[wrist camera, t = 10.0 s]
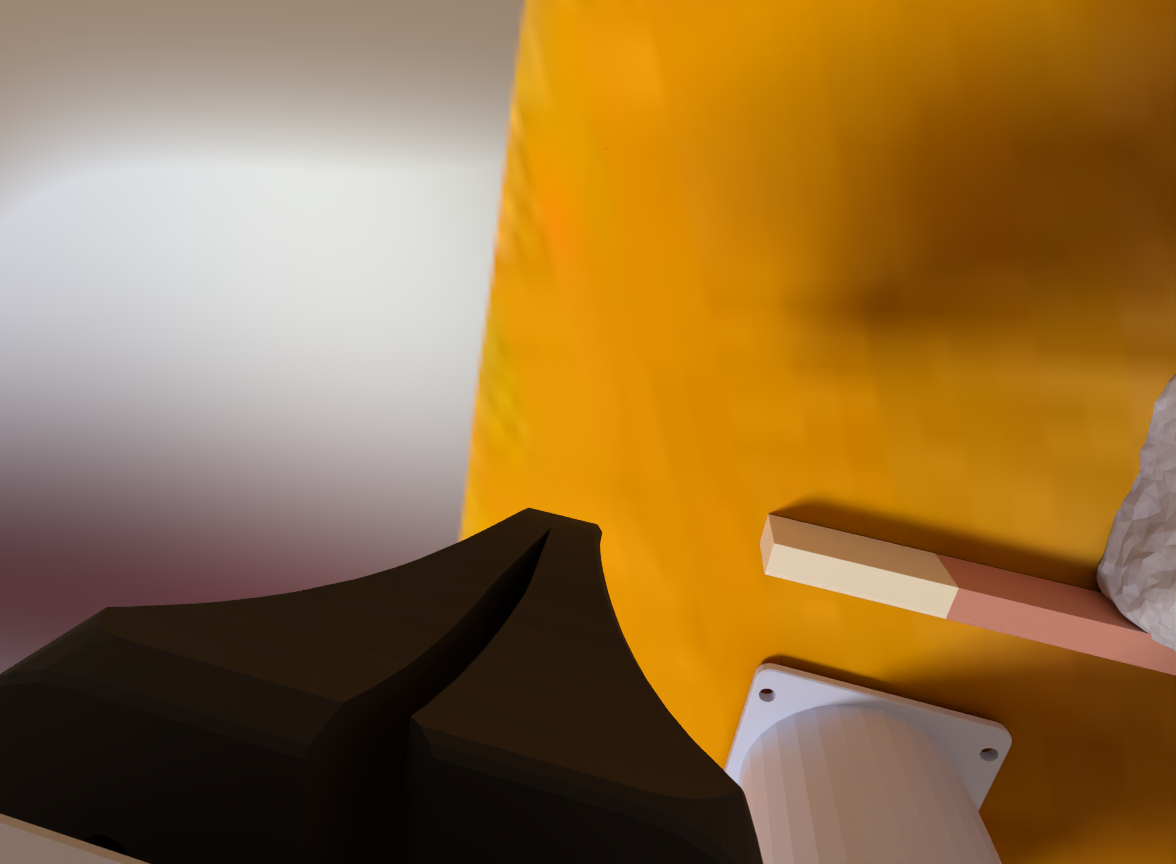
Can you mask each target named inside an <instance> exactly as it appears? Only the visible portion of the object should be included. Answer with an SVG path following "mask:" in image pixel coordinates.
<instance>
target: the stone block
mask: <svg viewBox="0 0 1176 864" xmlns="http://www.w3.org/2000/svg"><path fill="white" fill-rule="evenodd" d="M1096 579H1097V582H1098V585H1099V587H1100V589H1101V591H1102V593H1103V594H1104V595H1105V596H1106V597H1107V598H1108V599H1109V600H1111V601H1112V602H1113V603H1114V604H1115V605H1116V606H1117V608H1118V609H1119V611H1120V612H1121V613H1122V614H1123V615H1124V616H1125V617H1126V618H1127V619H1129V620H1130V621H1132V622H1133V623H1134V624H1136V625H1137V626H1139V627H1140V628H1142V629H1143V630H1144V631H1146V632H1147V633H1149V634H1151V636H1152V640H1154V641H1155V642H1157V643H1159V644H1161V645H1164V646H1167V647H1169V648H1171V649H1173V650H1174V651H1176V374H1175V375H1174V377H1173V378H1172V379H1171V380H1170V381H1169V382H1168V383H1167V385H1166V387H1165V389H1164V391H1163V392H1162V394H1161V395H1160V396H1159V398H1158V399H1157V400H1156V402H1155V404H1154V412H1153V416H1152V419H1151V423H1150V428H1149V432H1148V436H1147V439H1146V443H1145V445H1144V446H1143V447H1142V448H1141V451H1140V472H1139V474H1138V476H1137V478H1136V480H1135V482H1134V484H1133V486H1132V489H1131V491H1130V493H1129V494H1128V495H1127V497H1126V498H1125V499H1124V501H1123V502H1122V505H1121V508H1120V509H1119V510H1118V511H1117V513H1116V515H1115V518H1114V523H1113V526H1112V530H1111V533H1110V536H1109V539H1108V543H1107V546H1106V549H1105V552H1104V556H1103V558H1102V560H1101V562H1100V564H1099V566H1098V568H1097V572H1096Z"/></svg>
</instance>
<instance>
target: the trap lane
mask: <svg viewBox="0 0 1176 864" xmlns="http://www.w3.org/2000/svg"><path fill="white" fill-rule="evenodd" d="M760 547H761V553H762V559H763V566H764V572H765V574H766V575H770V576H774V577H778V578H783V579H787V580H791V581H795V582H799V583H803V584H807V585H811V586H815V587H819V588H823V589H827V590H831V591H835V592H839V593H843V594H847V595H851V596H855V597H860V598H864V599H868V600H872V601H876V602H880V603H884V604H888V605H892V606H896V607H900V608H904V609H908V610H912V611H916V612H920V613H924V614H928V615H932V616H936V617H941V618H945V619H949V620H953V621H957V622H961V623H965V624H969V625H973V626H977V627H981V628H985V629H989V630H993V631H997V632H1001V633H1005V634H1009V635H1013V636H1018V637H1022V638H1026V639H1030V640H1034V641H1038V642H1042V643H1046V644H1050V645H1054V646H1058V647H1062V648H1066V649H1070V650H1074V651H1078V652H1082V653H1086V654H1090V655H1094V656H1099V657H1103V658H1107V659H1111V660H1115V661H1119V662H1123V663H1127V664H1131V665H1135V666H1139V667H1143V668H1147V669H1151V670H1155V671H1159V672H1163V673H1167V674H1171V675H1176V651H1174V650H1173V649H1171V648H1169V647H1167V646H1164V645H1161V644H1159V643H1157V642H1155V641H1154V640H1152V636H1151V634H1149V633H1147V632H1146V631H1144V630H1143V629H1142V628H1140V627H1139V626H1137V625H1136V624H1134V623H1133V622H1132V621H1130V620H1129V619H1127V618H1126V617H1125V616H1124V615H1123V614H1122V613H1121V612H1120V611H1119V609H1118V608H1117V606H1116V605H1115V604H1114V603H1113V602H1112V601H1111V600H1109V599H1108V598H1107V597H1106V596H1105V595H1104V594H1103V593H1101V592H1097V591H1092V590H1088V589H1084V588H1080V587H1075V586H1071V585H1067V584H1063V583H1058V582H1054V581H1050V580H1046V579H1041V578H1037V577H1033V576H1029V575H1025V574H1020V573H1016V572H1012V571H1008V570H1003V569H999V568H995V567H991V566H986V565H982V564H978V563H974V562H969V561H965V560H961V559H957V558H953V557H948V556H944V555H940V554H936V553H931V552H927V551H923V550H919V549H914V548H910V547H906V546H902V545H897V544H893V543H889V542H885V541H881V540H876V539H872V538H868V537H864V536H859V535H855V534H851V533H847V532H842V531H838V530H834V529H830V528H825V527H821V526H817V525H813V524H809V523H804V522H800V521H796V520H792V519H787V518H783V517H779V516H775V515H770V514H768V517H767V520H766V523H765V527H764V530H763V533H762V537H761V540H760Z"/></svg>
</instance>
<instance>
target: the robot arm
mask: <svg viewBox="0 0 1176 864" xmlns="http://www.w3.org/2000/svg"><path fill="white" fill-rule="evenodd" d="M601 536H602V531H601V529H600V528H599V526H598V525H597V524H593V523H589V522H585V521H581V520H577V519H573V518H569V517H565V516H561V515H557V514H553V513H549V512H544V511H540V510H536V509H532V508H527V509H525V510H522V511H520V512H518V513H516V514H514V515H513V516H511V517H509V518H507V519H505V520H503V521H501V522H499V523H497V524H495V525H493V526H491V527H489V528H487V529H485V530H483V531H481V532H479V533H477V534H475V535H473V536H471V537H469V538H467V539H465V540H463V541H461V542H458V543H456V544H454V545H451V546H449V547H447V548H444V549H442V550H439V551H437V552H435V553H432V554H430V555H428V556H425V557H423V558H420V559H418V560H415V561H412V562H410V563H407V564H404V565H401V566H398V567H395V568H392V569H389V570H385V571H382V572H379V573H375V574H372V575H369V576H365V577H361V578H358V579H354V580H349V581H345V582H340V583H336V584H331V585H326V586H321V587H316V588H312V589H308V590H302V591H297V592H292V593H286V594H279V595H272V596H265V597H258V598H249V599H240V600H231V601H222V602H210V603H198V604H177V605H157V606H135V607H107V608H105V609H103V610H101V611H100V612H99V613H97V614H95V615H94V616H92V617H90V618H89V619H87V620H86V621H84V622H82V623H81V624H79V625H78V626H76V627H74V628H73V629H71V630H70V631H68V632H66V633H65V634H63V635H62V636H60V637H58V638H57V639H55V640H54V641H52V642H51V643H49V644H47V645H46V646H44V647H43V648H41V649H40V650H38V651H36V652H35V653H33V654H31V655H30V656H28V657H26V658H25V659H23V660H22V661H20V662H19V663H17V664H15V665H14V666H13V667H11V668H9V669H7V670H6V671H4V672H3V673H1V674H0V864H1002V862H1001V860H1000V858H999V856H998V853H997V851H996V849H995V847H994V845H993V842H992V840H991V838H990V836H989V834H988V832H987V829H986V827H985V825H984V823H983V821H982V818H981V816H980V814H979V812H978V811H979V809H980V807H981V805H982V803H983V801H984V799H985V797H986V795H987V793H988V791H989V789H990V787H991V785H992V783H993V781H994V779H995V777H996V775H997V773H998V771H999V769H1000V767H1001V765H1002V763H1003V761H1004V759H1005V757H1006V755H1007V753H1008V751H1009V749H1010V747H1011V744H1012V738H1011V735H1010V734H1009V732H1008V730H1007V729H1006V728H1005V727H1004V726H1003V725H1002V724H1000V723H998V722H995V721H991V720H987V719H984V718H980V717H976V716H972V715H968V714H965V713H961V712H957V711H953V710H949V709H945V708H942V707H938V706H934V705H930V704H926V703H923V702H919V701H915V700H911V699H907V698H904V697H900V696H896V695H892V694H888V693H884V692H881V691H877V690H873V689H869V688H865V687H862V686H858V685H854V684H850V683H846V682H842V681H839V680H835V679H831V678H827V677H823V676H820V675H816V674H812V673H808V672H804V671H801V670H797V669H793V668H789V667H785V666H781V665H778V664H773V663H766V664H762V665H761V666H759V667H758V668H757V670H756V671H755V674H754V677H753V680H752V683H751V686H750V690H749V693H748V696H747V699H746V702H745V705H744V708H743V712H742V715H741V718H740V721H739V724H738V727H737V730H736V734H735V737H734V740H733V743H732V746H731V749H730V752H729V756H728V759H727V762H726V765H725V768H724V770H723V769H722V768H721V767H720V766H719V765H718V764H717V763H716V762H715V761H714V760H713V759H712V758H711V757H710V756H709V755H708V754H707V753H706V752H705V751H704V750H703V749H702V748H701V747H700V746H699V745H697V744H696V743H695V741H694V740H693V739H692V738H691V737H690V736H689V735H688V734H687V732H686V731H685V730H684V729H683V728H682V726H681V725H680V724H679V723H678V722H677V720H676V719H675V718H674V717H673V716H672V714H671V713H670V712H669V711H668V710H667V708H666V707H665V705H664V704H663V702H662V701H661V700H660V698H659V697H658V695H657V694H656V692H655V691H654V689H653V688H652V686H651V685H650V684H649V682H648V681H647V679H646V677H645V676H644V674H643V672H642V670H641V669H640V667H639V665H638V663H637V661H636V660H635V658H634V656H633V654H632V652H631V650H630V648H629V646H628V644H627V642H626V640H625V637H624V635H623V633H622V630H621V628H620V625H619V623H618V620H617V618H616V615H615V612H614V609H613V606H612V603H611V600H610V597H609V593H608V590H607V586H606V581H605V577H604V573H603V568H602V562H601V554H600V541H601ZM765 688H767V689H771V690H773V692H771V693H769V694H764V693H762V692H760V691H761V690H762V689H765ZM985 748H992V749H991V750H990V751H987V752H981V751H982V750H983V749H985Z"/></svg>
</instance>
